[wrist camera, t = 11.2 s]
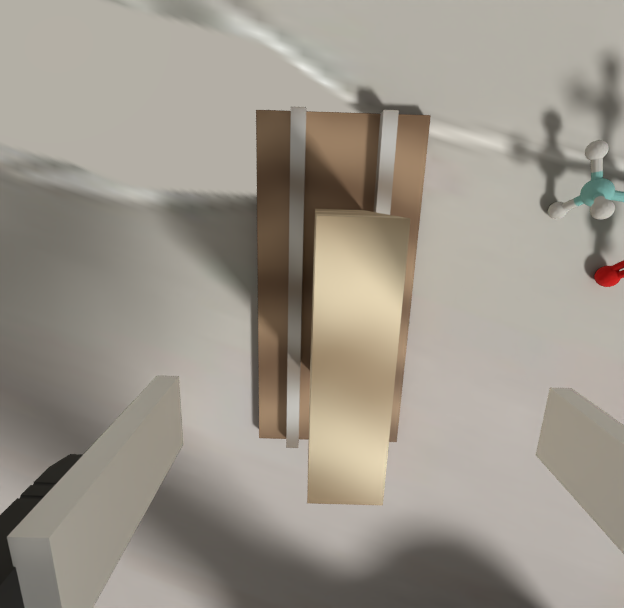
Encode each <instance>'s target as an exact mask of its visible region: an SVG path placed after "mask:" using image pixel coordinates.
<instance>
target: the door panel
mask: <svg viewBox="0 0 624 608" xmlns="http://www.w3.org/2000/svg"><path fill="white" fill-rule="evenodd" d="M410 221H411V219H410V218H405V217H399V216H393V215H388V214H382V213H376V212H371V211H365V210H344V209H315V229H314V262H313V294H312V326H311V359H310V401H309V449H308V497H307V503H318V504H354V505H383V497H384V487H385V476H386V466H387V456H388V446H389V436H390V425H391V415H392V405H393V395H394V384H395V374H396V364H397V354H398V343H399V333H400V323H401V313H402V302H403V292H404V282H405V272H406V262H407V251H408V241H409V231H410Z"/></svg>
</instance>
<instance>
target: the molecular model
mask: <svg viewBox="0 0 624 608" xmlns="http://www.w3.org/2000/svg"><path fill="white" fill-rule="evenodd" d="M608 149H609V147H608V144H607V143H606V142H605V141H602V140H597V141H593V142H591V143H590V144H589V145H588V146H587V148H586V150H585V156H586V157H587V158H588V159H589V160H591V181H589V182H587V183H586V184H585V185H584V186H583V188H582V189H581V193H580V196H578V197H576V198H574V199H572V200H569V201H567V202H565V203H563V202H555V203H553V204H552V205H551V206H550V207H549V208H548V215H549V216H550V217H551V218H553V219H560V218H562V217H564V216H565V215H566V214H567V212H568V210H570V209H573V208H575V207H577V206H579V205H582V204H586V205H588V206H591V208H590V213H591V215H592V216H593V217H594V218H596V219H606V218H608V217H610V216H611V215H612V214H613V213H614V211H615V204H614V203H613V202H612V201H611V200H614V201H621V202H624V192H621V191H615V187H614V185H613V183H612V182H611V181H609V180H608V179H604V178H603V157H604V156H605V155H606V154H607V152H608ZM622 268H624V260H623V261H621V262H619V263H617V264H615V265H613V266H604V267H601V268H599V269H598V270H597V271H596V273H595V276H594V278H595V281H596V282H597V283H598V284H599V285H601V286H604V287H610V286H614V285H616V284H617V283H618V282H619V281H620V279H621V278H623V277H624V270H622V271H619V270H620V269H622Z"/></svg>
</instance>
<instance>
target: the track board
mask: <svg viewBox="0 0 624 608" xmlns="http://www.w3.org/2000/svg"><path fill="white" fill-rule="evenodd" d="M429 125H430V115H402V114H399V110H383V111H382V112H381V114H371V113H339V112H308V111H306V107H291V111H276V110H256V135H257V136H256V137H257V138H256V140H257V248H258V356H259V438H273V439H286V448H298V443H299V439H309V401H310V359H311V326H312V294H313V262H314V229H315V209H344V210H365V211H371V212H376V213H382V214H388V215H393V216H399V217H405V218H410V219H411V221H410V231H409V241H408V251H407V262H406V272H405V282H404V292H403V302H402V313H401V323H400V333H399V343H398V354H397V364H396V374H395V384H394V395H393V405H392V415H391V425H390V436H389V442H397V433H398V423H399V413H400V404H401V394H402V385H403V375H404V365H405V356H406V346H407V336H408V327H409V317H410V308H411V298H412V288H413V279H414V269H415V260H416V250H417V240H418V231H419V221H420V212H421V202H422V192H423V183H424V173H425V163H426V154H427V144H428V135H429Z"/></svg>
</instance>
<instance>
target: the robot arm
mask: <svg viewBox="0 0 624 608" xmlns="http://www.w3.org/2000/svg"><path fill="white" fill-rule="evenodd" d="M182 446H183V432H182V417H181V402H180V387H179V376H156V377H155V378H154V380H153V381H152V382H151V383H150V384H149V385H148V386H147V387H146V388H145V389H144V390H143V391H142V392H141V393H140V395H139V396H138V397H137V398H136V399H135V400H134V401H133V402H132V403H131V404H130V405H129V406H128V407H127V408H126V410H125V411H124V412H123V413H122V414H121V415H120V416H119V417H118V418H117V419H116V420H115V421H114V422H113V423H112V425H111V426H110V427H109V428H108V429H107V430H106V431H105V432H104V433H103V434H102V435H101V436H100V437H99V439H98V440H97V441H96V442H95V443H94V444H93V445H92V446H91V447H90V448H89V449H88V450H87V451H86V452H85V454H84V455H76V454H70V455H68V456H67V457H65V458H63V459H62V460H60V461H58V462H57V463H55V464H53V465H52V466H50V467H49V468H48V469H47V470H46V471H45V472H44V473H43V474H42V475H41V476H40V477H39V478H38V479H37V480H36V481H35V482H34V484H33V485H30V486H29V487H28V488H27V489H26V490H25V491H24V492H23V493H22V494H21V497H20V498H19V499H18V498H17V499H16V500H15V501H14V502H13V503H12V504H11V505H10V506H9V507H8V508H7V509H6V510H5V511H4V512H3V513H2V514H1V515H0V608H93V607H94V605H95V603H96V601H97V599H98V598H99V596H100V594H101V592H102V590H103V589H104V587H105V585H106V583H107V581H108V579H109V578H110V576H111V574H112V572H113V570H114V569H115V567H116V565H117V563H118V561H119V560H120V558H121V556H122V554H123V552H124V551H125V549H126V547H127V545H128V543H129V542H130V540H131V538H132V536H133V534H134V533H135V531H136V529H137V527H138V525H139V523H140V522H141V520H142V518H143V516H144V514H145V513H146V511H147V509H148V507H149V505H150V504H151V502H152V500H153V498H154V496H155V495H156V493H157V491H158V489H159V487H160V486H161V484H162V482H163V480H164V478H165V476H166V475H167V473H168V471H169V469H170V467H171V466H172V464H173V462H174V460H175V458H176V457H177V455H178V453H179V451H180V449H181V448H182ZM536 456H537V457H538V458H539V459H540V460H541V462H542V463H543V464H544V465H545V466H546V467H547V468H548V469H549V471H550V472H551V473H552V474H553V475H554V476H555V477H556V478H557V480H558V481H559V482H560V483H561V484H562V485H563V486H564V487H565V489H566V490H567V491H568V492H569V493H570V494H571V495H572V496H573V498H574V499H575V500H576V501H577V502H578V503H579V504H580V505H581V507H582V508H583V509H584V510H585V511H586V512H587V513H588V514H589V516H590V517H591V518H592V519H593V520H594V521H595V522H596V523H597V525H598V526H599V527H600V528H601V529H602V530H603V531H604V532H605V534H606V535H607V536H608V537H609V538H610V539H611V540H612V541H613V543H614V544H615V545H616V546H617V547H618V548H619V549H620V550H621V552H622V553H623V554H624V425H623V424H621V423H620V422H618V421H617V420H616V419H614V418H613V417H611V416H610V415H609V414H607V413H606V412H604V411H603V410H601V409H600V408H599V407H597V406H596V405H594V404H593V403H592V402H590V401H589V400H587V399H586V398H585V397H583V396H582V395H580V394H579V393H577V392H576V391H575V390H573V389H572V388H550V390H549V394H548V399H547V404H546V409H545V413H544V418H543V423H542V428H541V432H540V437H539V442H538V447H537V452H536Z"/></svg>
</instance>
